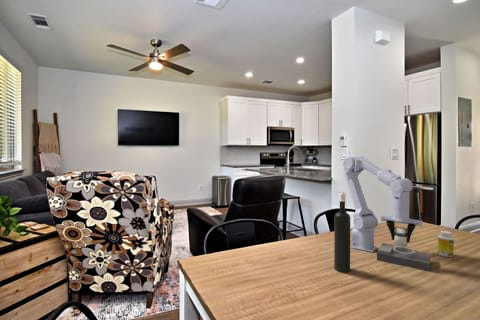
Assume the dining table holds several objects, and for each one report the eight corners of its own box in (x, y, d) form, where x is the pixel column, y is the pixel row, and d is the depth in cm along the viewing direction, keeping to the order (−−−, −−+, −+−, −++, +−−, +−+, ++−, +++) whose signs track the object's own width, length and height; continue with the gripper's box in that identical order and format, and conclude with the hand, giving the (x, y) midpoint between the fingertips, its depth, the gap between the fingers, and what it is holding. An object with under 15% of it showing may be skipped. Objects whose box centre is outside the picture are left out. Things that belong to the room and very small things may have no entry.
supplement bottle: (450, 258, 112) (451, 234, 111) (435, 254, 116) (435, 231, 116) (455, 255, 115) (456, 232, 114) (440, 251, 119) (440, 229, 119)
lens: (392, 245, 108) (392, 228, 108) (395, 242, 111) (395, 225, 111) (406, 247, 105) (406, 230, 104) (408, 244, 108) (408, 228, 108)
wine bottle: (349, 267, 104) (349, 191, 103) (350, 273, 98) (351, 193, 97) (334, 265, 105) (334, 191, 105) (334, 271, 100) (334, 193, 99)
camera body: (376, 259, 111) (377, 250, 110) (382, 251, 120) (382, 242, 120) (429, 271, 100) (429, 260, 99) (430, 261, 109) (430, 251, 109)
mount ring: (391, 254, 109) (391, 250, 109) (394, 248, 115) (394, 245, 115) (414, 258, 104) (414, 254, 104) (415, 252, 110) (415, 249, 110)
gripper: (379, 207, 109) (379, 239, 110) (421, 212, 100) (421, 247, 101) (382, 204, 115) (382, 235, 115) (423, 208, 106) (422, 242, 106)
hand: (400, 240), depth 108 cm, fingers closed on lens, 5 cm apart
